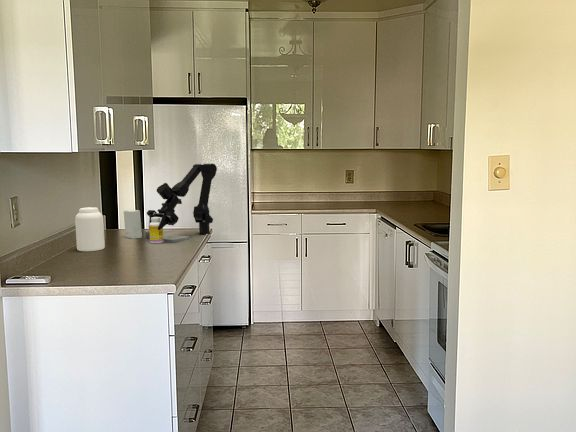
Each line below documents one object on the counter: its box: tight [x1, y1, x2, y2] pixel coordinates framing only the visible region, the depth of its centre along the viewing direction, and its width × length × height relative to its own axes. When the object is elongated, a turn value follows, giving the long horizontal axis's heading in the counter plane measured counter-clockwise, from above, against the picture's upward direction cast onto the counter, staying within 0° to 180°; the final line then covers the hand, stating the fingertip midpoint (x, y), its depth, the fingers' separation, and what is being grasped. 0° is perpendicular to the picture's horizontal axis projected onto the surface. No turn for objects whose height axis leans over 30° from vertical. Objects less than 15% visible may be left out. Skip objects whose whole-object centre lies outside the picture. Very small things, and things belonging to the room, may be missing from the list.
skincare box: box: [123, 209, 143, 240], centre depth 289 cm, size 8×6×15 cm
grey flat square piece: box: [163, 234, 191, 243], centre depth 282 cm, size 12×12×1 cm
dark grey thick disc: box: [144, 231, 150, 240], centre depth 288 cm, size 8×8×3 cm
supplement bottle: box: [148, 217, 164, 245], centre depth 273 cm, size 7×7×13 cm
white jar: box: [74, 206, 106, 253], centre depth 256 cm, size 12×12×20 cm
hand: (153, 229), depth 271 cm, fingers closed on supplement bottle, 7 cm apart
